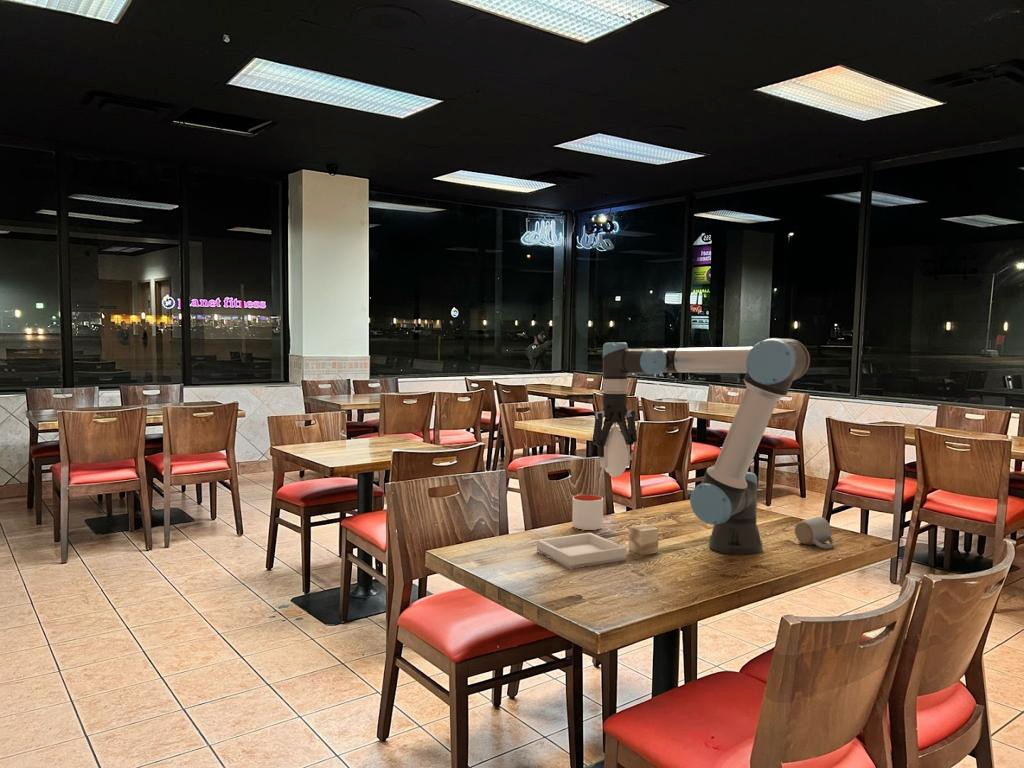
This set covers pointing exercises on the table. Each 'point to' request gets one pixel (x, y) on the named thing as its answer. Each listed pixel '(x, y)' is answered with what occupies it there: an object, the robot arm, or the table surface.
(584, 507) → the cup
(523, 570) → the table surface
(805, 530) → the ceramic mug
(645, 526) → the birch block
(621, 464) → the sauce bottle
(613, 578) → the table surface
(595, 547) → the tray
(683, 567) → the table surface
